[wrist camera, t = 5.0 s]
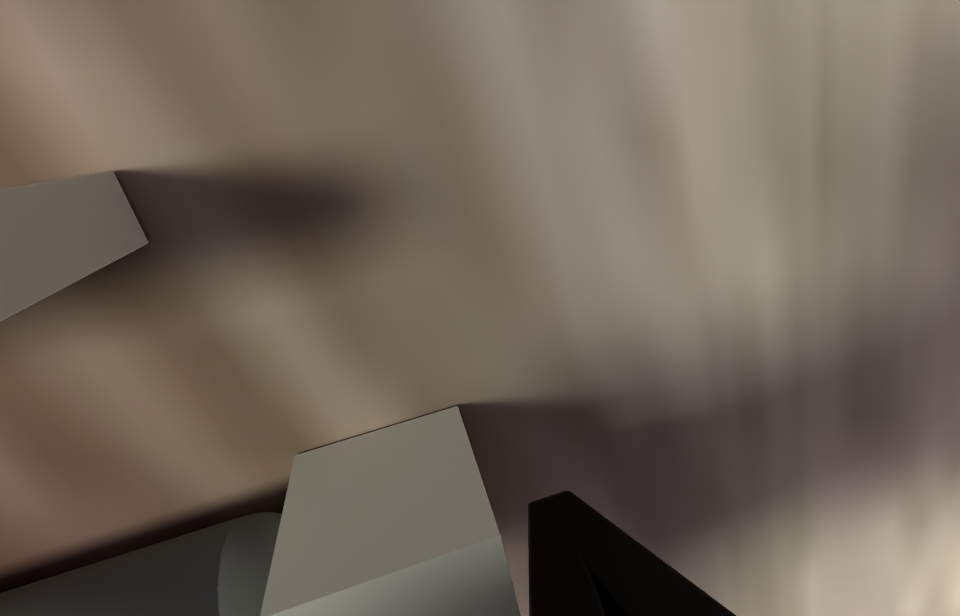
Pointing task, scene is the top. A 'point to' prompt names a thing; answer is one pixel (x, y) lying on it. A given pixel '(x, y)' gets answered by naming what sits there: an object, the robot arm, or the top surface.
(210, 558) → the grey bar
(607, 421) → the top surface
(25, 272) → the white slat
